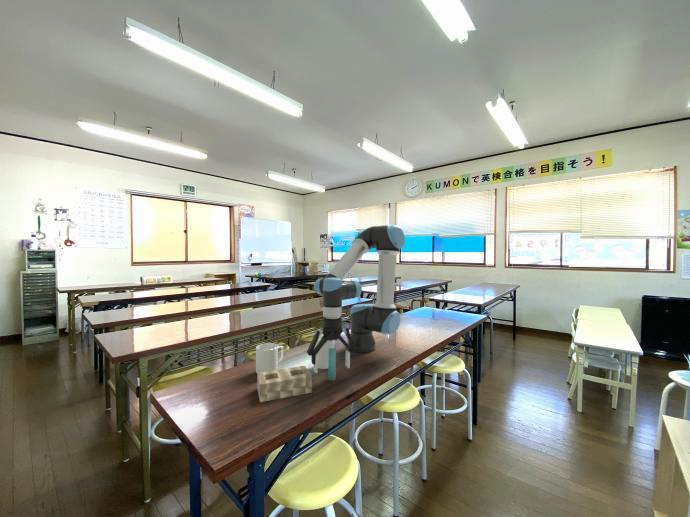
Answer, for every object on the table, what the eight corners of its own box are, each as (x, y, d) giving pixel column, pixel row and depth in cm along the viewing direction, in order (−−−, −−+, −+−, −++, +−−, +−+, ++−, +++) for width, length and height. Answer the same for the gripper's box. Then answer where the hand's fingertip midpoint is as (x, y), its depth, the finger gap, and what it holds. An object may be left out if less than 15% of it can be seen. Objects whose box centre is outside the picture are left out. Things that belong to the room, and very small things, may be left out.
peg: (334, 376, 115) (334, 347, 114) (336, 379, 112) (337, 350, 112) (327, 378, 114) (327, 348, 113) (329, 381, 111) (329, 351, 111)
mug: (261, 379, 112) (261, 351, 112) (252, 372, 119) (252, 346, 118) (288, 371, 120) (288, 345, 120) (278, 364, 127) (278, 340, 126)
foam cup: (309, 366, 125) (309, 337, 125) (324, 360, 132) (324, 333, 132) (323, 372, 119) (324, 342, 118) (339, 366, 125) (339, 337, 125)
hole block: (304, 380, 111) (304, 365, 111) (311, 392, 102) (311, 376, 102) (257, 388, 104) (257, 372, 104) (260, 402, 95) (260, 384, 95)
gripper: (356, 312, 120) (356, 361, 121) (299, 317, 111) (299, 370, 111) (364, 316, 114) (364, 368, 114) (304, 321, 104) (303, 378, 104)
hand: (331, 369), depth 113 cm, fingers open, 13 cm apart
